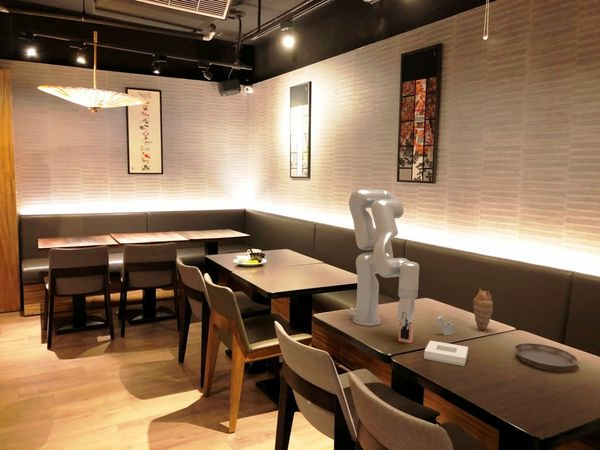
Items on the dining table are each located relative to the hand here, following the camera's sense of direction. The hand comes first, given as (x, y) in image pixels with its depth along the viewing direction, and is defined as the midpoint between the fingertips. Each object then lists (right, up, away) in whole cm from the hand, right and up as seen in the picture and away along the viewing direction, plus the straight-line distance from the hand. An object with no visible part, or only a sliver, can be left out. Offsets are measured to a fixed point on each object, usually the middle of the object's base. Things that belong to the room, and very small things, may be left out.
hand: (405, 337), depth 188 cm
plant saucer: (+47, -5, -17) cm, 50 cm away
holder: (+12, -4, -15) cm, 19 cm away
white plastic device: (+18, -1, +9) cm, 21 cm away
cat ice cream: (+37, -1, +16) cm, 40 cm away
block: (0, -2, 0) cm, 2 cm away
